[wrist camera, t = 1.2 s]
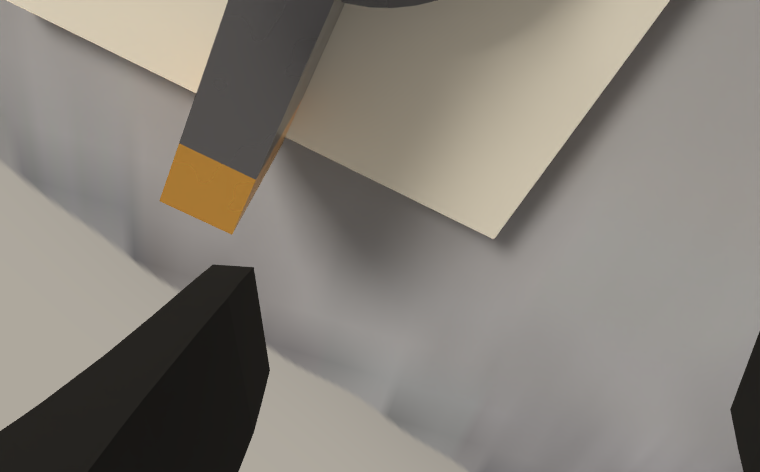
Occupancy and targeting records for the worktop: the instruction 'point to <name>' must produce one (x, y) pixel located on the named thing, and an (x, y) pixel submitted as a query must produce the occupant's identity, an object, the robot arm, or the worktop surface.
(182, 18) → the console plate
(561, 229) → the worktop surface
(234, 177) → the lever door handle
